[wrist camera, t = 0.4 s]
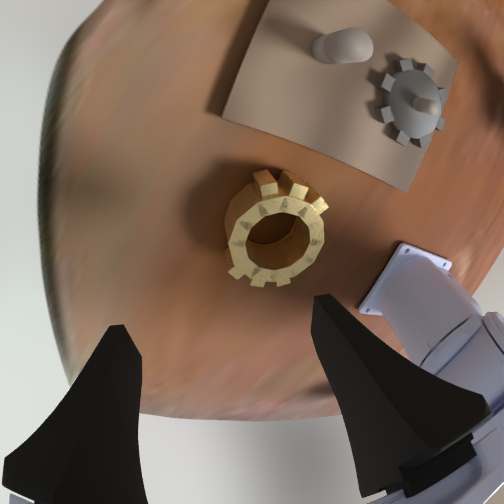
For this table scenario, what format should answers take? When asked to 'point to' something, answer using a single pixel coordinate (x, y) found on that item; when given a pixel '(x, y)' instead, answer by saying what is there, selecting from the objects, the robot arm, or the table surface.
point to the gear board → (345, 83)
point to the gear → (289, 247)
